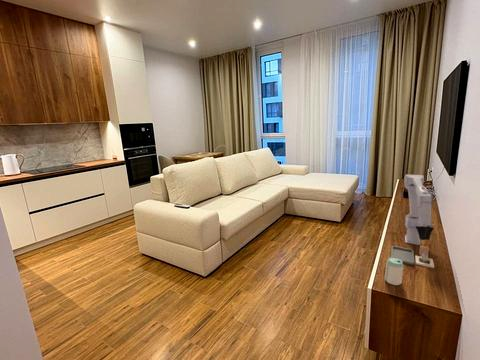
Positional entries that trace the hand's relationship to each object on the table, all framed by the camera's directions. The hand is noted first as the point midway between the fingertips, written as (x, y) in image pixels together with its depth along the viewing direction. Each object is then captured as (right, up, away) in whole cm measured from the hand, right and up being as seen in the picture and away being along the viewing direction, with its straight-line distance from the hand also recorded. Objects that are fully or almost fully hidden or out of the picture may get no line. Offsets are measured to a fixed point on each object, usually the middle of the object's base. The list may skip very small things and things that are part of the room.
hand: (424, 239), depth 142 cm
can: (-27, -17, -16) cm, 36 cm away
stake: (-2, -12, -2) cm, 12 cm away
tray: (-9, -11, +5) cm, 15 cm away
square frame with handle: (-1, -12, 0) cm, 12 cm away
